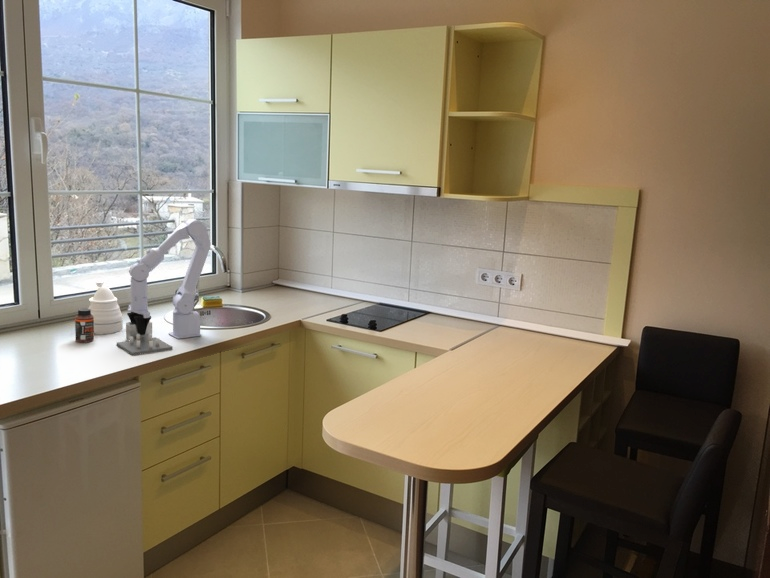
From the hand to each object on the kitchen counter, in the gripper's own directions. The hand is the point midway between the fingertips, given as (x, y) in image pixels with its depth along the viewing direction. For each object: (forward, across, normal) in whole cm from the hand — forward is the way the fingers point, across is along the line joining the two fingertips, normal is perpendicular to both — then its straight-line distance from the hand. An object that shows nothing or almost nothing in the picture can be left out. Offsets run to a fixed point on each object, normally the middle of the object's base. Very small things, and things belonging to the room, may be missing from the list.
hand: (139, 333), depth 235 cm
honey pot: (+2, -18, -6) cm, 19 cm away
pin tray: (+2, +12, -3) cm, 13 cm away
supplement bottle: (+2, -6, -17) cm, 18 cm away
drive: (+2, 0, 0) cm, 2 cm away
